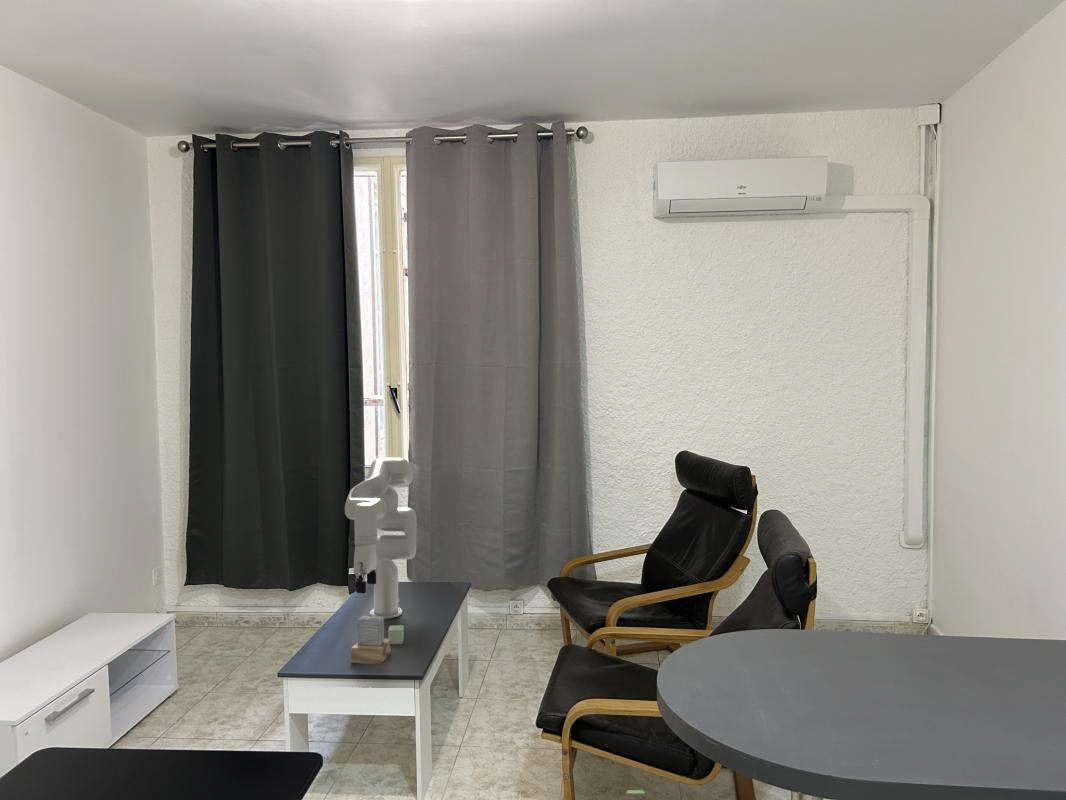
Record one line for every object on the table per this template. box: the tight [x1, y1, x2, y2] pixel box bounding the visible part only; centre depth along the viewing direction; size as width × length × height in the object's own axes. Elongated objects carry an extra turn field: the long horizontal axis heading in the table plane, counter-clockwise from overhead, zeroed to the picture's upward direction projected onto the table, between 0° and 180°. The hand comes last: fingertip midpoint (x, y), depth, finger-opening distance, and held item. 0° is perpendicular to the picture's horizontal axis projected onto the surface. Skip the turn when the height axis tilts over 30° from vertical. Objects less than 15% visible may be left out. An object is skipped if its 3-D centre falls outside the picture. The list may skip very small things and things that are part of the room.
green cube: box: [387, 624, 405, 645], centre depth 269 cm, size 5×5×5 cm
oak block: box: [350, 638, 392, 666], centre depth 254 cm, size 10×10×5 cm
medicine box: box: [357, 615, 385, 646], centre depth 253 cm, size 8×4×9 cm, turn 80°
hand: (366, 588), depth 256 cm, fingers open, 9 cm apart
